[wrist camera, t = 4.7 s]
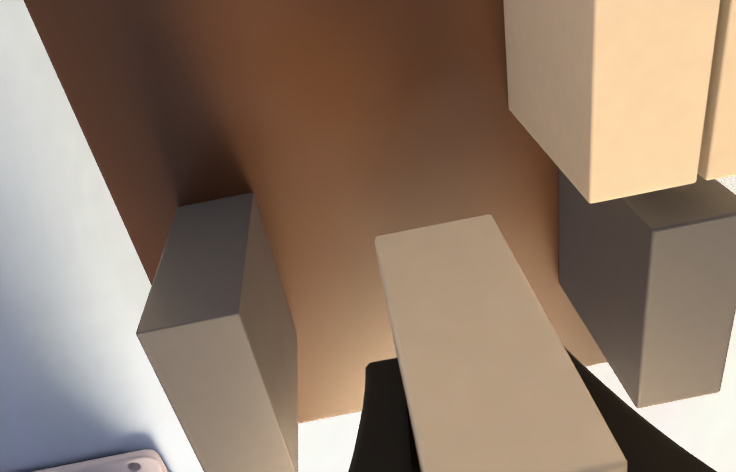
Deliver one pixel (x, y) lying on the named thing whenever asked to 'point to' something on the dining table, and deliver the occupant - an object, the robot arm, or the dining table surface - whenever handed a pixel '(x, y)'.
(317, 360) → the shelf board
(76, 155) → the dining table surface
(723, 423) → the dining table surface
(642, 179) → the cream block
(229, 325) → the grey block pair
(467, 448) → the tan wooden block
